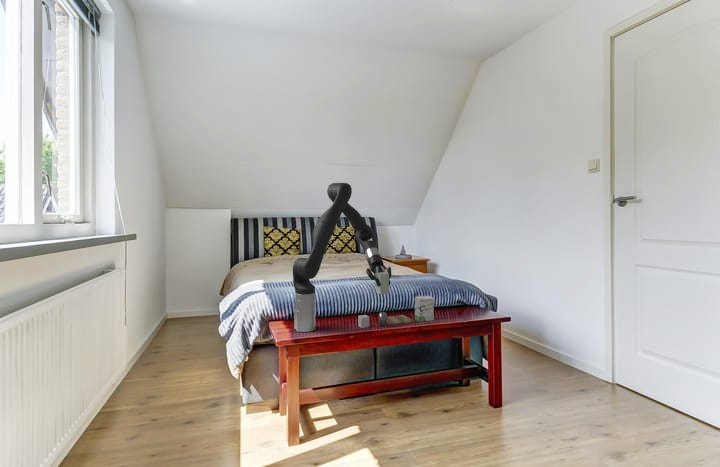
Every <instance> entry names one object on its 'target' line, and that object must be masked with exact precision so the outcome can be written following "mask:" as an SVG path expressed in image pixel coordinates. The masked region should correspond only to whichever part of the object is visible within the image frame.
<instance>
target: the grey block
mask: <svg viewBox="0 0 720 467" xmlns="http://www.w3.org/2000/svg"><path fill="white" fill-rule="evenodd" d="M357 322H358V323H357V324H358V325H357V326H358V327H360V328H361V329H367V328H370V316H368V315H366V314H361V315H358V318H357Z"/></svg>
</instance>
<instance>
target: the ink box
mask: <svg viewBox="0 0 720 467" xmlns="http://www.w3.org/2000/svg"><path fill="white" fill-rule="evenodd" d="M434 299H435V298H434V297H433V296H431V295H421V296H415V297H414V320H415V321H417V322H428V321H434V320H435V318H434V317H435V316H434V312H435V311H434V309H435V305H434V302H435V301H434Z"/></svg>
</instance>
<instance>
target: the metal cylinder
mask: <svg viewBox="0 0 720 467" xmlns="http://www.w3.org/2000/svg"><path fill="white" fill-rule="evenodd" d="M387 317H388V316H387V312H384V311H383V312H382V311H381V312H379V313H378V327H382V328H384V327H387V321H386V318H387Z"/></svg>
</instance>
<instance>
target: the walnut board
mask: <svg viewBox="0 0 720 467" xmlns="http://www.w3.org/2000/svg"><path fill="white" fill-rule="evenodd" d="M386 323H389V324H390V325H392V326H400V325H401V324H402V325H408V324H416V320H415V319H412V318H410V317H408V316H406V315H404V314H401V315H399V314H398V315H391V316H387V318H386Z"/></svg>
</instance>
